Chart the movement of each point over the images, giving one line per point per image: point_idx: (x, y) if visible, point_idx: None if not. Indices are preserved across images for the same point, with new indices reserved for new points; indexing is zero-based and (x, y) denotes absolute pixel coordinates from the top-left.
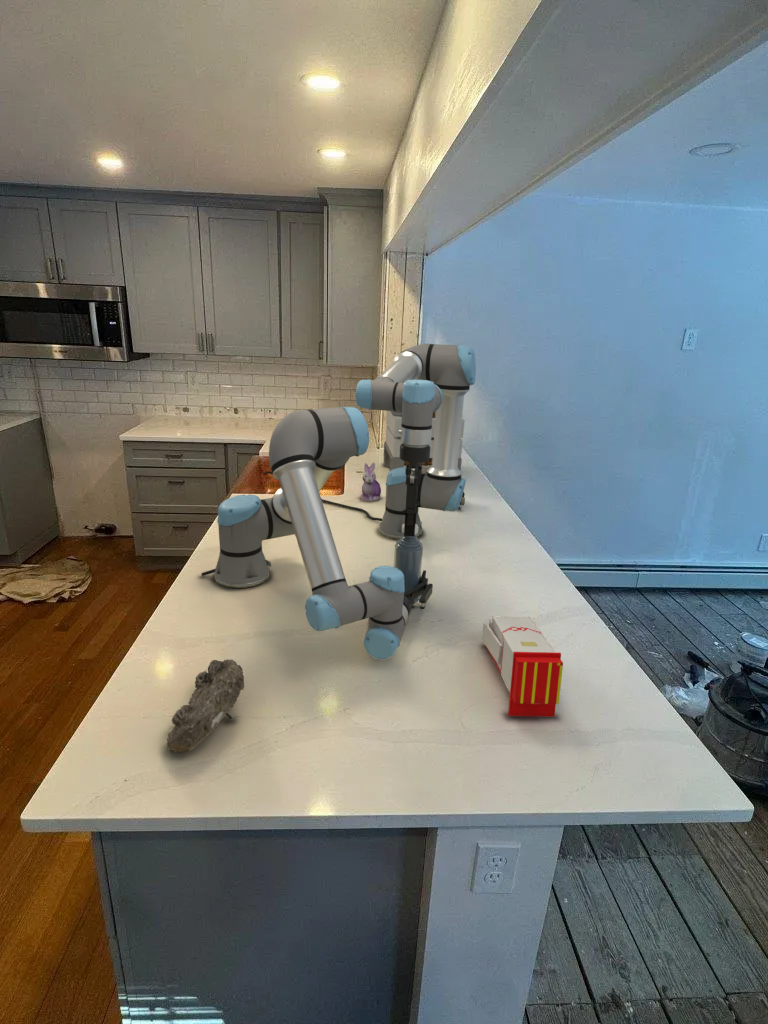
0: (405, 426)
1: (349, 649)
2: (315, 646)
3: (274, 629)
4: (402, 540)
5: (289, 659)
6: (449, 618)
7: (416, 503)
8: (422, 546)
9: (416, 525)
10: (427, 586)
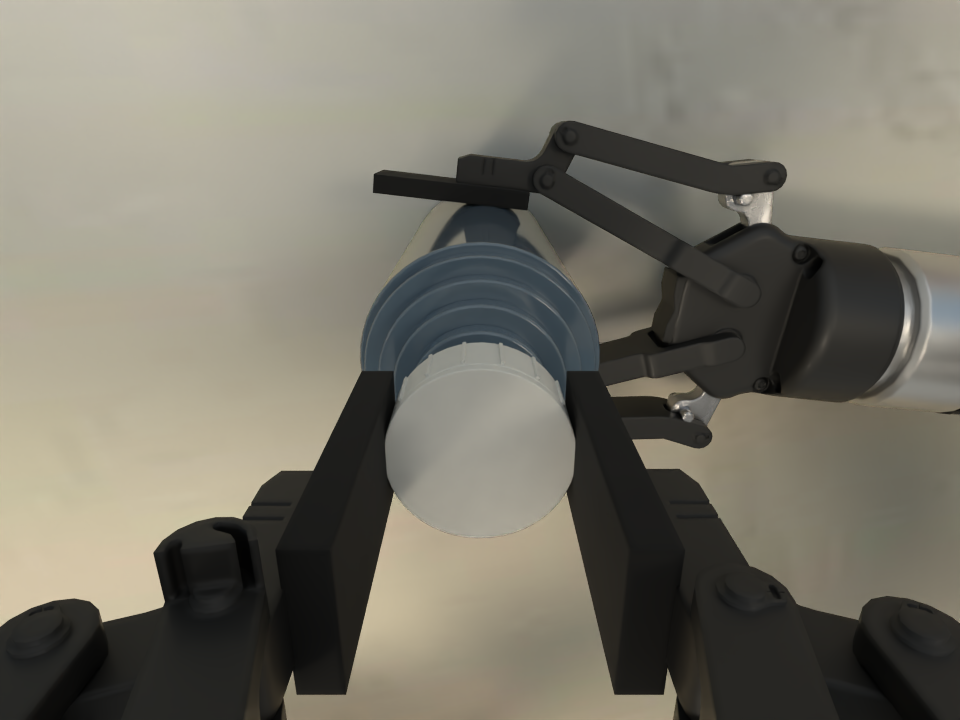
0: None
1: (893, 436)
2: (865, 541)
3: None
4: None
5: (936, 595)
6: (634, 13)
7: (263, 590)
8: (465, 247)
9: (455, 392)
10: (597, 156)
